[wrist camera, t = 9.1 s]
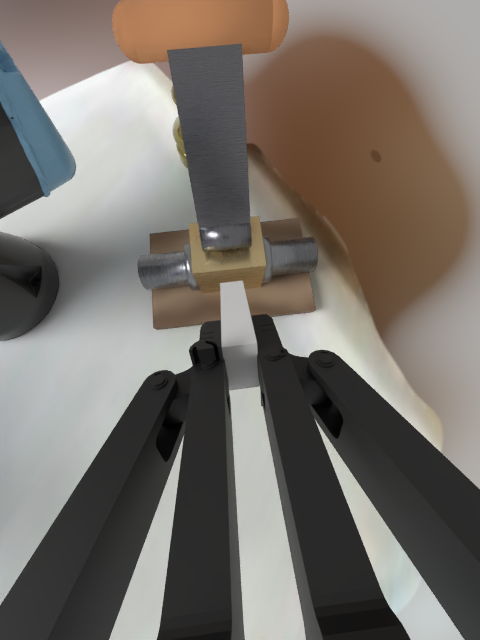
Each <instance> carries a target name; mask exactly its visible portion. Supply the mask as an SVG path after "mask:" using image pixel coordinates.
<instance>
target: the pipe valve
mask: <svg viewBox="0 0 480 640" xmlns="http://www.w3.org/2000/svg"><path fill="white" fill-rule="evenodd" d="M250 224H251V234H252V246H251V247H247V248H237V249H228V250H219V251H209V252H203V250H202V246H201V241H200V234H199V226H198V223H190V224H189V230H181V231H172V232H162V233H152V234H150V254H149V255H141V256H139V258H138V273H139V277H140V280H141V282H142V284H143V286H144V287H145V288H146V289H147V290H150V289H152V303H153V328H155V329H157V330H159V329H168V328H177V327H185V326H194V325H203V324H204V323H205V322H207V321H216V320H221V296H220V283H226V282H234V281H243V284H244V289H245V293H246V297H247V302H248V306H249V310H250V315H251V316H252V315H261V314H267V315H269V316H270V317H273V316H282V315H291V314H300V313H309V312H313V311H314V310H316V309H315V303H314V298H313V292H312V287H311V282H310V276H309V272H313V271H314V270H315V268H316V266H317V260H318V250H317V244H316V241H315V239H314V238H313V237H309V238H302V234H301V228H300V223H299V218H296V219H286V220H277V221H267V222H260V218H259V216H257V217H250Z"/></svg>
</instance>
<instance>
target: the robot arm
mask: <svg viewBox="0 0 480 640" xmlns="http://www.w3.org/2000/svg"><path fill="white" fill-rule="evenodd" d="M75 170H76V163H75V159H74V157H73V155H72V153H71V151H70V150H69V148H68V147H67V145H66V143H65V142H64V140H63V139H62V137H61V135H60V134H59V132H58V131H57V129H56V127H55V126H54V124H53V123H52V121H51V119H50V118H49V116H48V115H47V113H46V112H45V110H44V108H43V107H42V105H41V104H40V102H39V100H38V99H37V97H36V96H35V94H34V93H33V91H32V90H31V88H30V86H29V85H28V83H27V82H26V80H25V79H24V77H23V75H22V74H21V72H20V71H19V70H18V68H17V66H16V65H15V63H14V61H13V59H12V58H11V56H10V55H9V53H8V52H7V50H6V48H5V47H4V45H3V44H2V42H1V41H0V219H1V218H3V217H5V216H7V215H9V214H11V213H13V212H14V211H16V210H18V209H20V208H22V207H24V206H26V205H28V204H30V203H31V202H33V201H35V200H37V199H39V198H41V197H43V196H44V197H48V196H49V195H50V192H51V191H53V190H54V189H56V188H58V187H59V186H61V185H62V184H64V183H66V182H67V181H69V180H70V179H72V177H73V176H74V175H75ZM57 290H58V273H57V269H56V266H55V264H54V262H53V260H52V259H51V257H50V256H49V255H48V254H47V253H46V252H45V251H44V250H42V249H41V248H39V247H38V246H36V245H34V244H32V243H31V242H29V241H27V240H25V239H23V238H20V237H18V236H15V235H11V234H7V233H3V232H0V341H4V340H9V339H12V338H15V337H18V336H20V335H22V334H24V333H26V332H28V331H29V330H31V329H32V328H33V327H35V326H36V325H37V324H38V323H39V322H40V321H41V320H42V319H43V318H44V317H45V316H46V314H47V313H48V312H49V310H50V309H51V307H52V305H53V303H54V301H55V298H56V295H57ZM220 296H221V320H216V321H207V322H205V323H204V324H203V325H202V327H201V330H200V340H199V341H198V342H196V343H194V344H193V345H192V346H191V347H190V349H189V353H190V357H191V360H192V364H193V366H192V367H191V368H190V369H188V370H186V371H184V372H182V373H179V374H176V375H175V374H174V373H172V372H171V371H168V370H162V371H158V372H155V373H153V374H152V375H150V376H149V377H148V378H147V379H146V380H145V381H144V382H143V384H142V386H141V387H140V389H139V390H138V392H137V393H136V395H135V396H134V398H133V400H132V401H131V403H130V404H129V406H128V407H127V409H126V410H125V412H124V414H123V415H122V417H121V418H120V420H119V421H118V423H117V424H116V426H115V428H114V429H113V431H112V432H111V434H110V435H109V437H108V439H107V440H106V442H105V443H104V445H103V446H102V448H101V449H100V451H99V453H98V454H97V456H96V457H95V459H94V460H93V462H92V463H91V465H90V467H89V468H88V470H87V471H86V473H85V474H84V476H83V477H82V479H81V481H80V482H79V484H78V485H77V487H76V488H75V490H74V492H73V493H72V495H71V496H70V498H69V499H68V501H67V502H66V504H65V506H64V507H63V509H62V510H61V512H60V513H59V515H58V516H57V518H56V520H55V521H54V523H53V524H52V526H51V527H50V529H49V531H48V532H47V534H46V535H45V537H44V538H43V540H42V541H41V543H40V545H39V546H38V548H37V549H36V551H35V552H34V554H33V555H32V557H31V559H30V560H29V562H28V563H27V565H26V566H25V568H24V569H23V571H22V573H21V574H20V576H19V577H18V579H17V580H16V582H15V584H14V585H13V587H12V588H11V590H10V591H9V593H8V594H7V596H6V598H5V599H4V601H3V602H2V604H1V605H0V640H109V638H110V635H111V632H112V630H113V627H114V624H115V621H116V619H117V616H118V613H119V611H120V608H121V605H122V602H123V600H124V597H125V594H126V591H127V589H128V586H129V583H130V580H131V578H132V575H133V572H134V570H135V567H136V564H137V561H138V559H139V556H140V553H141V550H142V548H143V545H144V542H145V539H146V537H147V534H148V531H149V529H150V526H151V523H152V520H153V518H154V515H155V512H156V509H157V507H158V504H159V501H160V498H161V496H162V493H163V490H164V488H165V485H166V482H167V479H168V477H169V474H170V471H171V468H172V466H173V463H174V460H175V458H176V455H177V452H178V449H179V447H180V444H181V441H182V438H183V436H184V441H183V449H182V457H181V464H180V472H179V480H178V488H177V496H176V504H175V512H174V520H173V528H172V536H171V544H170V552H169V560H168V568H167V576H166V584H165V592H164V600H163V607H162V615H161V622H160V628H159V633H158V637H157V640H245V638H244V625H243V609H242V592H241V575H240V557H239V540H238V523H237V506H236V489H235V471H234V454H233V437H232V420H231V403H230V395H229V390H235V389H243V388H251V387H259V386H260V388H261V406H263V409H264V415H265V420H266V425H267V431H268V436H269V441H270V446H271V452H272V457H273V462H274V467H275V473H276V478H277V483H278V488H279V494H280V499H281V504H282V510H283V515H284V520H285V525H286V531H287V536H288V541H289V546H290V552H291V557H292V562H293V568H294V573H295V578H296V583H297V589H298V594H299V599H300V604H301V610H302V615H303V621H304V627H305V635H306V640H410V638H409V636H408V634H407V632H406V630H405V629H404V627H403V625H402V623H401V622H400V621H399V619H398V618H397V617H396V615H395V614H394V612H393V611H392V610H391V608H390V607H389V605H388V603H387V601H386V599H385V598H384V595H383V593H382V591H381V588H380V586H379V583H378V581H377V578H376V576H375V573H374V571H373V568H372V565H371V563H370V560H369V558H368V555H367V553H366V550H365V547H364V545H363V542H362V540H361V537H360V535H359V532H358V529H357V527H356V524H355V522H354V519H353V517H352V514H351V512H350V509H349V506H348V504H347V501H346V499H345V496H344V494H343V491H342V488H341V486H340V483H339V481H338V478H337V476H336V473H335V470H334V468H333V465H332V463H331V460H330V458H329V455H328V452H327V450H326V447H325V445H324V442H323V440H322V437H321V435H320V432H319V429H318V427H317V424H316V422H315V420H316V421H317V423H318V424H319V426H320V427H321V429H322V430H323V432H324V433H325V435H326V436H327V437H328V439H329V440H330V442H331V443H332V445H333V446H334V448H335V449H336V451H337V452H338V454H339V455H340V457H341V458H342V460H343V461H344V463H345V464H346V465H347V467H348V468H349V470H350V471H351V473H352V474H353V476H354V477H355V479H356V480H357V482H358V483H359V485H360V486H361V488H362V489H363V491H364V492H365V493H366V495H367V496H368V498H369V499H370V501H371V502H372V504H373V505H374V507H375V508H376V510H377V511H378V513H379V514H380V516H381V517H382V519H383V520H384V521H385V523H386V524H387V526H388V527H389V529H390V530H391V532H392V533H393V535H394V536H395V538H396V539H397V541H398V542H399V544H400V545H401V547H402V548H403V549H404V551H405V552H406V554H407V555H408V557H409V558H410V560H411V561H412V563H413V564H414V566H415V567H416V569H417V570H418V572H419V573H420V575H421V576H422V578H423V579H424V580H425V582H426V583H427V585H428V586H429V588H430V589H431V591H432V592H433V594H434V595H435V597H436V598H437V599H438V601H439V603H440V604H441V605H442V607H443V608H444V610H445V611H446V613H447V614H448V616H449V617H450V618H451V620H452V622H453V623H454V625H455V626H456V628H457V629H458V630H459V632H460V634H461V635H462V636H463V638H464V639H465V640H480V489H478V487H476V486H475V485H474V484H473V483H472V482H471V481H470V480H469V479H468V478H467V477H466V476H465V475H464V474H463V473H462V472H461V471H460V470H459V469H458V468H456V467H455V466H454V465H453V464H452V463H451V462H450V461H449V460H448V459H447V458H446V457H445V456H443V454H442V453H441V452H440V451H439V450H437V449H436V448H435V447H434V446H433V445H432V444H431V443H430V442H429V441H428V440H427V439H426V438H425V437H424V436H423V435H422V434H421V433H419V432H418V431H417V430H416V429H415V428H414V427H413V426H412V425H411V424H410V423H409V422H408V421H407V420H406V419H405V418H404V417H403V416H402V415H400V414H399V413H398V412H397V411H396V410H395V409H394V408H393V407H392V406H391V405H390V404H389V403H388V402H387V401H386V400H385V399H384V398H383V397H381V396H380V395H379V394H378V393H377V392H376V391H375V390H374V389H373V388H372V387H371V386H370V385H369V384H368V383H367V382H366V381H365V380H364V379H362V378H361V377H360V376H359V375H358V374H357V373H356V372H355V371H354V370H353V369H352V368H351V367H350V366H349V365H348V364H347V363H346V362H344V361H343V360H342V359H341V358H340V357H339V356H338V355H336V354H335V353H333V352H330V351H327V350H318V351H314V352H312V353H311V354H310V356H309V358H307V357H299V356H294V355H292V354H289V353H288V351H287V350H286V349H285V348H283V346H282V344H281V341H280V338H279V336H278V333H277V330H276V327H275V325H274V322H273V319H272V318H271V317H270V316H269V315H267V314H261V315H252V316H251V315H250V310H249V306H248V302H247V297H246V293H245V289H244V284H243V281H234V282H226V283H220ZM314 418H315V419H314Z"/></svg>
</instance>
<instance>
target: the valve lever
mask: <svg viewBox="0 0 480 640" xmlns="http://www.w3.org/2000/svg"><path fill="white" fill-rule="evenodd" d="M288 23H289V10H288V6H287V2H286V0H123V1H120V2H119V3H118V4H117V5H116V7H115V9H114V11H113V16H112V27H113V32H114V36H115V39H116V41H117V43H118V45H119V47H120V49H121V50H122V52H123V53H124V54H125V55H126V56H127V57H128V58H129V59H130V60H132V61H133V62H136V63H140V64H144V63H155V62H166V61H169V65H170V70H171V76H172V82H173V87H174V93H175V98H176V104H177V109H178V115H179V120H180V126H181V132H182V137H183V143H184V148H185V154H186V159H187V165H188V170H189V176H190V182H191V187H192V193H193V198H194V204H195V209H196V215H197V220H198V226H199V234H200V241H201V246H202V250H203V252H209V251H219V250H228V249H237V248H247V247H251V246H252V234H251V224H250V206H249V185H248V164H247V144H246V123H245V103H244V81H243V60H242V55H245V54H257V53H268V52H272V51H274V50H276V49H277V48H278V47H279V46H280V44H281V43H282V42H283V40H284V38H285V35H286V32H287V29H288Z"/></svg>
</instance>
